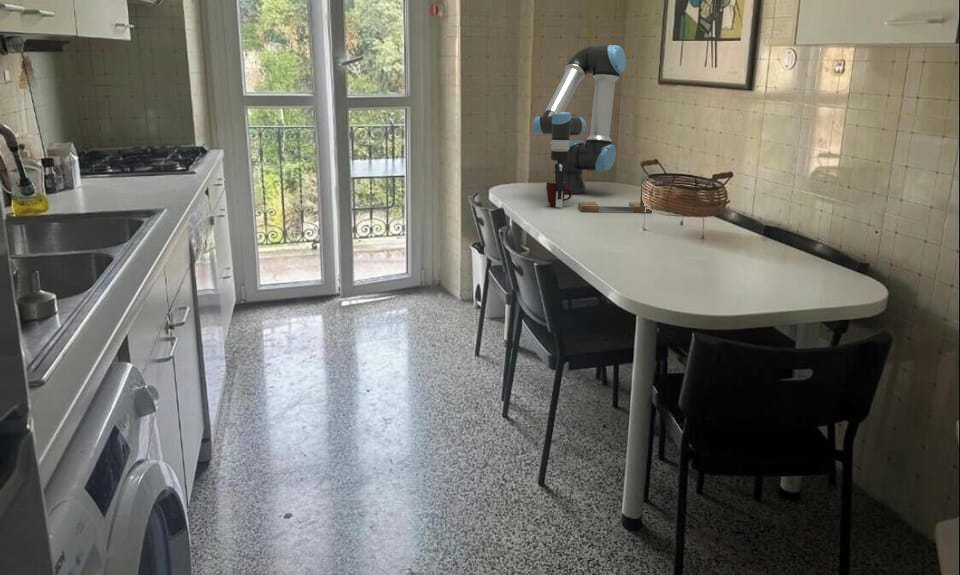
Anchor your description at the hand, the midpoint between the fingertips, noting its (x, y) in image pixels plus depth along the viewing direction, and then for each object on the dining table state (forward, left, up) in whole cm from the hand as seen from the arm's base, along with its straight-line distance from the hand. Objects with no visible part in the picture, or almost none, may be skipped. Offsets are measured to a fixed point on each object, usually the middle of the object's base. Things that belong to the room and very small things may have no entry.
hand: (558, 205), depth 302 cm
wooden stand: (+9, +22, 0) cm, 24 cm away
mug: (0, 0, -1) cm, 1 cm away
